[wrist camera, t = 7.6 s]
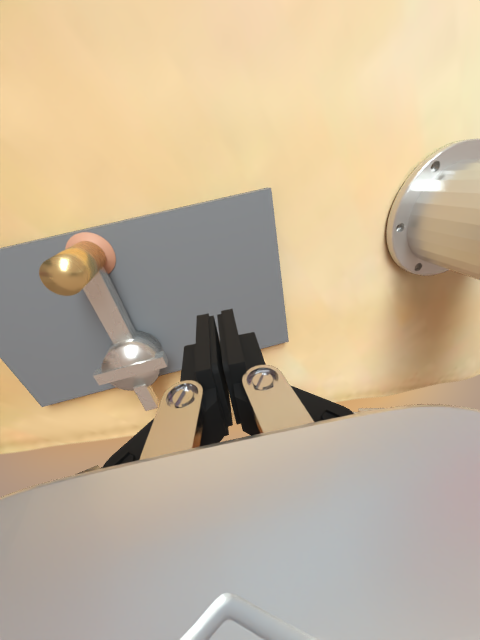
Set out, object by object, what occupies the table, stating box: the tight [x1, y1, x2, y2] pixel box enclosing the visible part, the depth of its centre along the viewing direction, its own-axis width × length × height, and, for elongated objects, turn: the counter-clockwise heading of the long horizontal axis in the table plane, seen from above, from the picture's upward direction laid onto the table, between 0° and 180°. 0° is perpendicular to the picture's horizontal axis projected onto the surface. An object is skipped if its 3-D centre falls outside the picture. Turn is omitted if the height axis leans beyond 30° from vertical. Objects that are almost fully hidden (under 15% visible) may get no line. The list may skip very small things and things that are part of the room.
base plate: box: [0, 188, 289, 407], centre depth 25 cm, size 28×16×1 cm, turn 101°
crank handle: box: [39, 241, 168, 411], centre depth 22 cm, size 16×6×5 cm, turn 12°
